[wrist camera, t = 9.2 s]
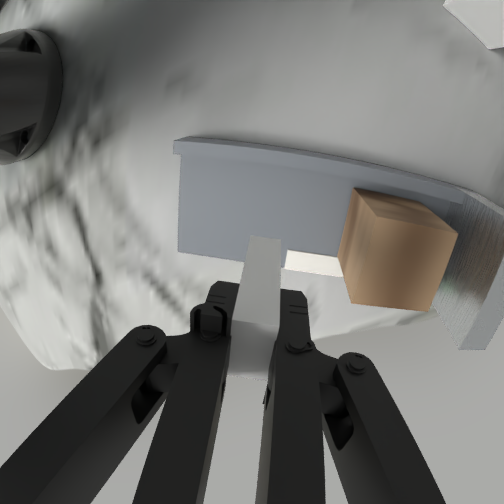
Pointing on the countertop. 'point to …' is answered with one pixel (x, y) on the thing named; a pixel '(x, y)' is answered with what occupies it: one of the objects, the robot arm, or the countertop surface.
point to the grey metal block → (473, 273)
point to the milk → (481, 19)
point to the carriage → (393, 251)
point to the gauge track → (282, 199)
